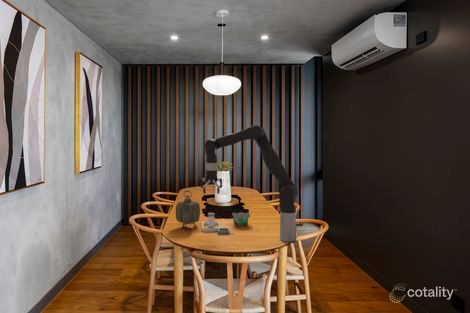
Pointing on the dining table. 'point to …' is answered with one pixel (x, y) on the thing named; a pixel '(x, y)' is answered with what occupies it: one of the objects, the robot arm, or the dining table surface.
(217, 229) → the parts tray
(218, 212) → the dining table surface
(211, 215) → the fuse
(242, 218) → the food container
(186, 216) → the tabletop clock
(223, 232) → the fuse block
